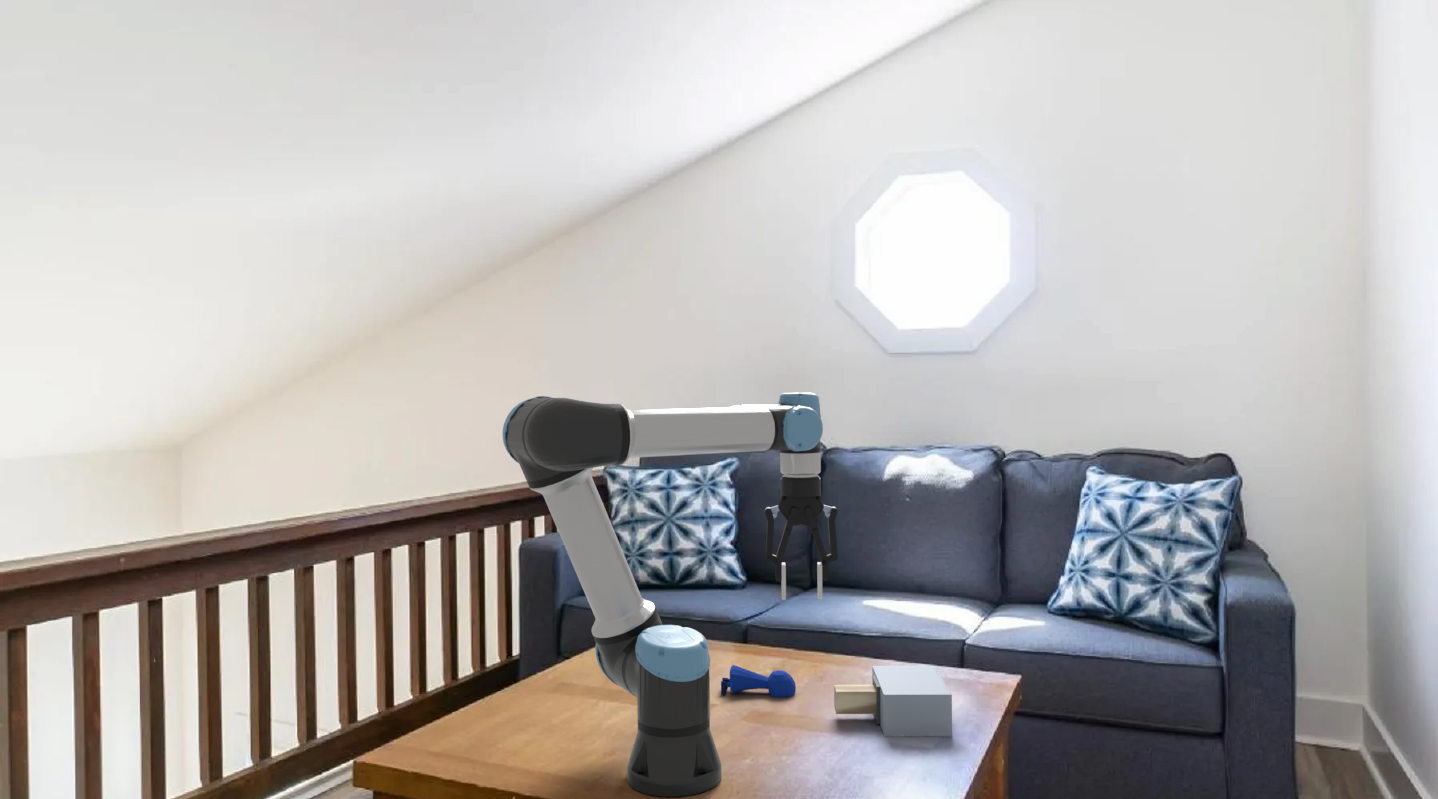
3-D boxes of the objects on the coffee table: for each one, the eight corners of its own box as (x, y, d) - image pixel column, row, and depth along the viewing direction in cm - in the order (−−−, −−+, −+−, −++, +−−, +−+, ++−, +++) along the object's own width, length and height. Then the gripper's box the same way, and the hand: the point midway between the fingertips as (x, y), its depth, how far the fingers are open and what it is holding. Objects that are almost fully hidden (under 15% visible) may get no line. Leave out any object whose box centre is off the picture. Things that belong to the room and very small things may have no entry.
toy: (720, 701, 204) (795, 700, 202) (719, 670, 204) (793, 669, 202) (724, 690, 211) (796, 689, 209) (722, 661, 210) (795, 659, 209)
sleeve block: (952, 736, 180) (951, 694, 180) (880, 736, 180) (880, 694, 180) (934, 703, 198) (933, 665, 198) (869, 703, 198) (869, 665, 198)
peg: (923, 714, 187) (922, 691, 187) (836, 714, 188) (835, 691, 187) (919, 706, 191) (919, 684, 191) (834, 706, 192) (834, 684, 192)
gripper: (849, 472, 192) (851, 593, 193) (749, 473, 193) (751, 594, 194) (853, 476, 185) (854, 602, 185) (749, 477, 186) (750, 603, 186)
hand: (801, 598), depth 189 cm, fingers open, 6 cm apart
